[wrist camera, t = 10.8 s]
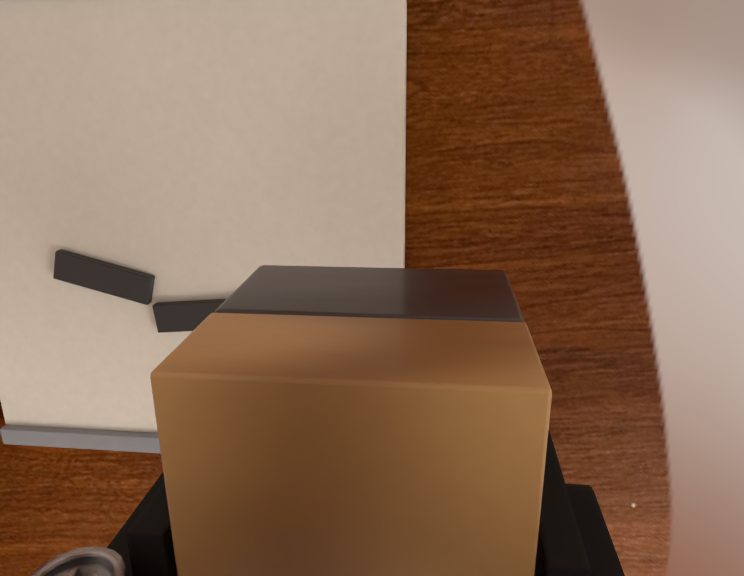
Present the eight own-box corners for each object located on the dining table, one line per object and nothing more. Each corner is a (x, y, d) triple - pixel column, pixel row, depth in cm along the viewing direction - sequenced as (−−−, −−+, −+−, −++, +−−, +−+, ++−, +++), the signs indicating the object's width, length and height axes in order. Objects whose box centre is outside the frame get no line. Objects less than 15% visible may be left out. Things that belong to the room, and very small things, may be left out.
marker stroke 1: (155, 275, 24) (151, 278, 24) (151, 302, 24) (147, 305, 24) (60, 248, 24) (54, 250, 24) (58, 275, 24) (52, 278, 24)
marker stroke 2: (250, 296, 24) (247, 300, 23) (255, 324, 24) (252, 328, 24) (155, 302, 24) (151, 305, 24) (161, 329, 25) (157, 333, 24)
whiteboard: (407, -34, 20) (404, -43, 19) (403, 449, 26) (401, 468, 25) (-75, -18, 22) (-108, -25, 21) (23, 428, 28) (2, 444, 27)
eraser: (507, 268, 11) (553, 389, 6) (484, 618, 13) (506, 872, 9) (259, 263, 11) (147, 373, 7) (282, 602, 14) (212, 837, 9)
